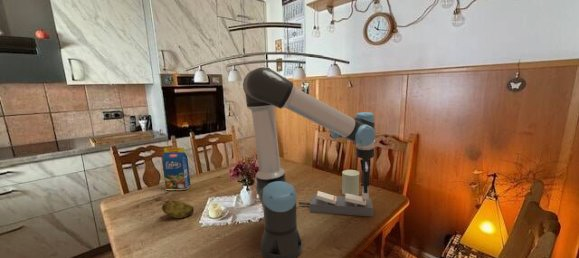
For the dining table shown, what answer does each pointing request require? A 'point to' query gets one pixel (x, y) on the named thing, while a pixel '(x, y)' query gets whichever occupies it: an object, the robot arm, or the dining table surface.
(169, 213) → the olive green oval lump
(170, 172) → the blue food package
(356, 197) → the small box
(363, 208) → the rocker switch panel
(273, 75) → the robot arm
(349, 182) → the can
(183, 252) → the dining table surface
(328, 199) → the block
